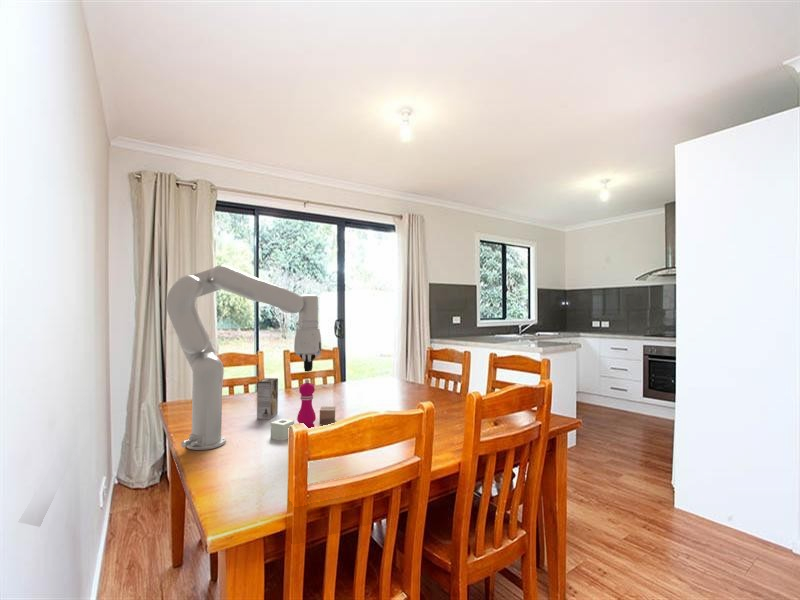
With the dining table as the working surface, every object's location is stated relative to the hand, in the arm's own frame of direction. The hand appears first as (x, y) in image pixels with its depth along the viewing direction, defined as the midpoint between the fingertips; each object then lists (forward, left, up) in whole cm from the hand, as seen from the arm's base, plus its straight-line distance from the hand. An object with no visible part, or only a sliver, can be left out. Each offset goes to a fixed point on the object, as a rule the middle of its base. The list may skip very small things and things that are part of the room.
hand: (308, 370), depth 160 cm
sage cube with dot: (-11, +4, -23) cm, 26 cm away
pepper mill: (0, 0, -23) cm, 23 cm away
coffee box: (+11, +25, -24) cm, 36 cm away
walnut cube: (+11, -4, -23) cm, 26 cm away
